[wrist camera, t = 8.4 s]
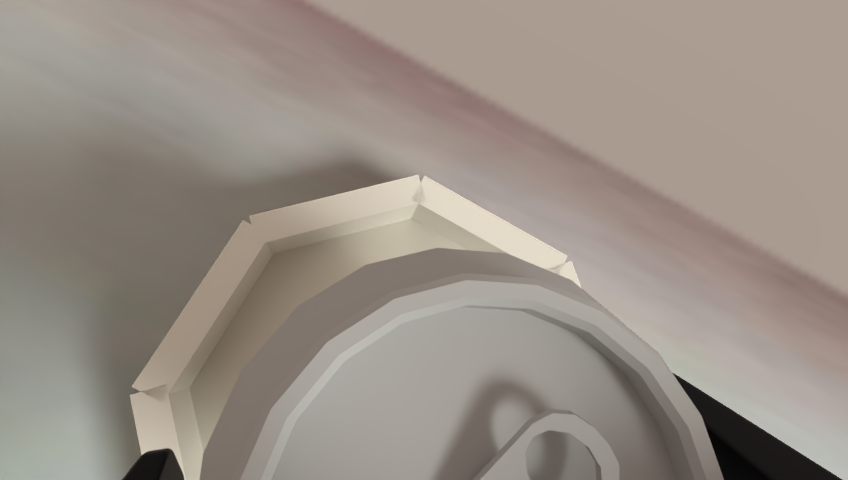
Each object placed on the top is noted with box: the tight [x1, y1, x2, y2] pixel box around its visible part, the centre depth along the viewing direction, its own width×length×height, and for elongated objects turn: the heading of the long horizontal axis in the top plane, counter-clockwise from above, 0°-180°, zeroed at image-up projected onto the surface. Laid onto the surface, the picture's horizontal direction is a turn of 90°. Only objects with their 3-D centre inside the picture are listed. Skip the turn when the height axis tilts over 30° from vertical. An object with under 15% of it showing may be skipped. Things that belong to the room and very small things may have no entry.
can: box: [199, 248, 724, 480], centre depth 11 cm, size 8×8×12 cm
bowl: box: [130, 175, 581, 480], centre depth 16 cm, size 15×15×3 cm
